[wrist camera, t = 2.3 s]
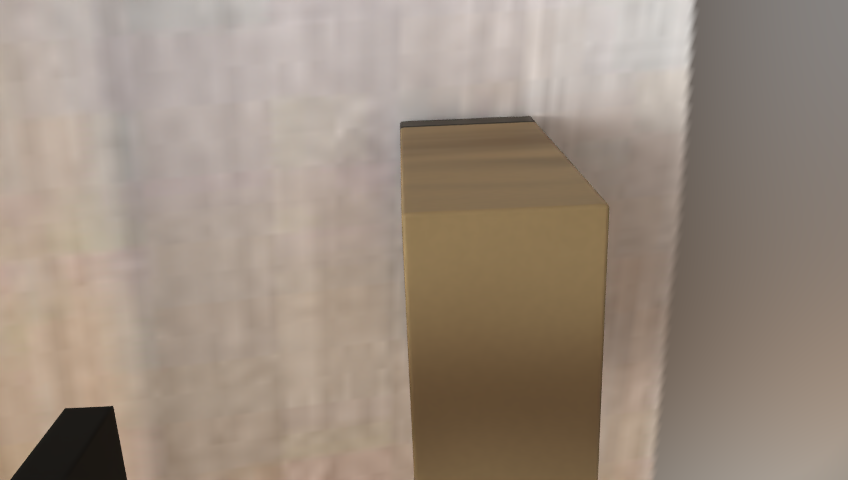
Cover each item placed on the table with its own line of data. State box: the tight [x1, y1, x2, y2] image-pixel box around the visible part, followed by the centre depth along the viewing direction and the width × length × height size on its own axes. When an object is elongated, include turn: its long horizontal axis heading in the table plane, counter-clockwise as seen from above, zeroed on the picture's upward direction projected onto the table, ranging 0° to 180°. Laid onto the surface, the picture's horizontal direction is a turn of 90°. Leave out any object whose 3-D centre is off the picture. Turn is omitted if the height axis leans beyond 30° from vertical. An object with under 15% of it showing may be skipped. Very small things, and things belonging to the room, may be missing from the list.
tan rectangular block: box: [400, 116, 609, 480], centre depth 19 cm, size 7×4×8 cm, turn 2°
